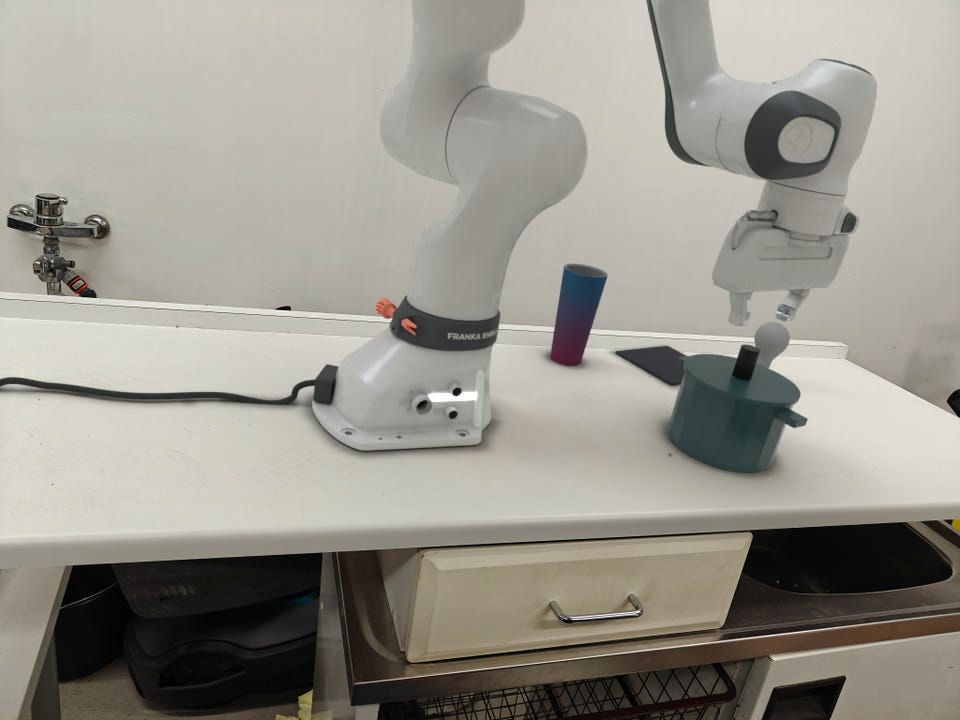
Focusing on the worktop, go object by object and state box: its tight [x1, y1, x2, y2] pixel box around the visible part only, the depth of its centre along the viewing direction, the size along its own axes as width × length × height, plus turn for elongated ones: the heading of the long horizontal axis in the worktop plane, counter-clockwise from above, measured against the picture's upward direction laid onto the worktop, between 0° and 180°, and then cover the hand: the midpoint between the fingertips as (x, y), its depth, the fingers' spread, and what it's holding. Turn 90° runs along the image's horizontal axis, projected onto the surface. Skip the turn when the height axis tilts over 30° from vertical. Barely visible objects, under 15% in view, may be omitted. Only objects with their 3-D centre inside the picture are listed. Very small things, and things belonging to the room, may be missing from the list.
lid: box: [683, 343, 802, 407], centre depth 92 cm, size 15×15×5 cm
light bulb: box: [753, 321, 791, 369], centre depth 121 cm, size 6×6×10 cm
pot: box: [667, 355, 809, 474], centre depth 94 cm, size 14×19×10 cm
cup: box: [549, 263, 609, 367], centre depth 113 cm, size 7×7×15 cm
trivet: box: [614, 345, 687, 387], centre depth 121 cm, size 13×13×1 cm
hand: (760, 321), depth 89 cm, fingers open, 8 cm apart
